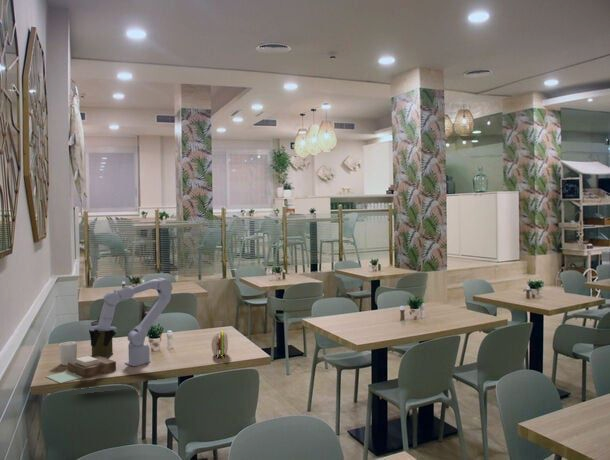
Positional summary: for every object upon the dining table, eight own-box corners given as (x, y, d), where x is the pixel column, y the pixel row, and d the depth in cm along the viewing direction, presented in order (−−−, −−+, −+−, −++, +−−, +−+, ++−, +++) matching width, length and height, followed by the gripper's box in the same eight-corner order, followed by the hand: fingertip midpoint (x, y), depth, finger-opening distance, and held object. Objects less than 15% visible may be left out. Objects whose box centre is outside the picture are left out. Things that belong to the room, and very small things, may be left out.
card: (88, 360, 245) (88, 355, 245) (97, 363, 239) (97, 359, 239) (75, 362, 240) (75, 358, 240) (85, 366, 234) (85, 362, 234)
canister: (114, 356, 265) (113, 317, 265) (92, 359, 260) (92, 319, 260) (111, 351, 275) (110, 314, 274) (90, 354, 270) (89, 316, 269)
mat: (68, 371, 240) (68, 371, 240) (82, 377, 231) (82, 377, 231) (46, 377, 232) (46, 376, 232) (60, 383, 223) (60, 382, 223)
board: (98, 363, 252) (98, 355, 252) (116, 369, 242) (115, 361, 242) (68, 371, 241) (67, 362, 241) (85, 377, 231) (84, 369, 230)
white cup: (60, 366, 248) (59, 346, 247) (59, 362, 255) (58, 342, 254) (78, 364, 252) (77, 344, 251) (76, 360, 258) (76, 340, 258)
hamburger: (212, 352, 271) (211, 330, 271) (228, 352, 272) (227, 329, 272) (211, 359, 259) (210, 335, 259) (227, 358, 261) (227, 334, 260)
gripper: (111, 316, 253) (104, 343, 252) (88, 315, 240) (80, 344, 239) (122, 319, 250) (115, 347, 248) (99, 318, 237) (91, 347, 236)
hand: (99, 346), depth 243 cm, fingers open, 7 cm apart
